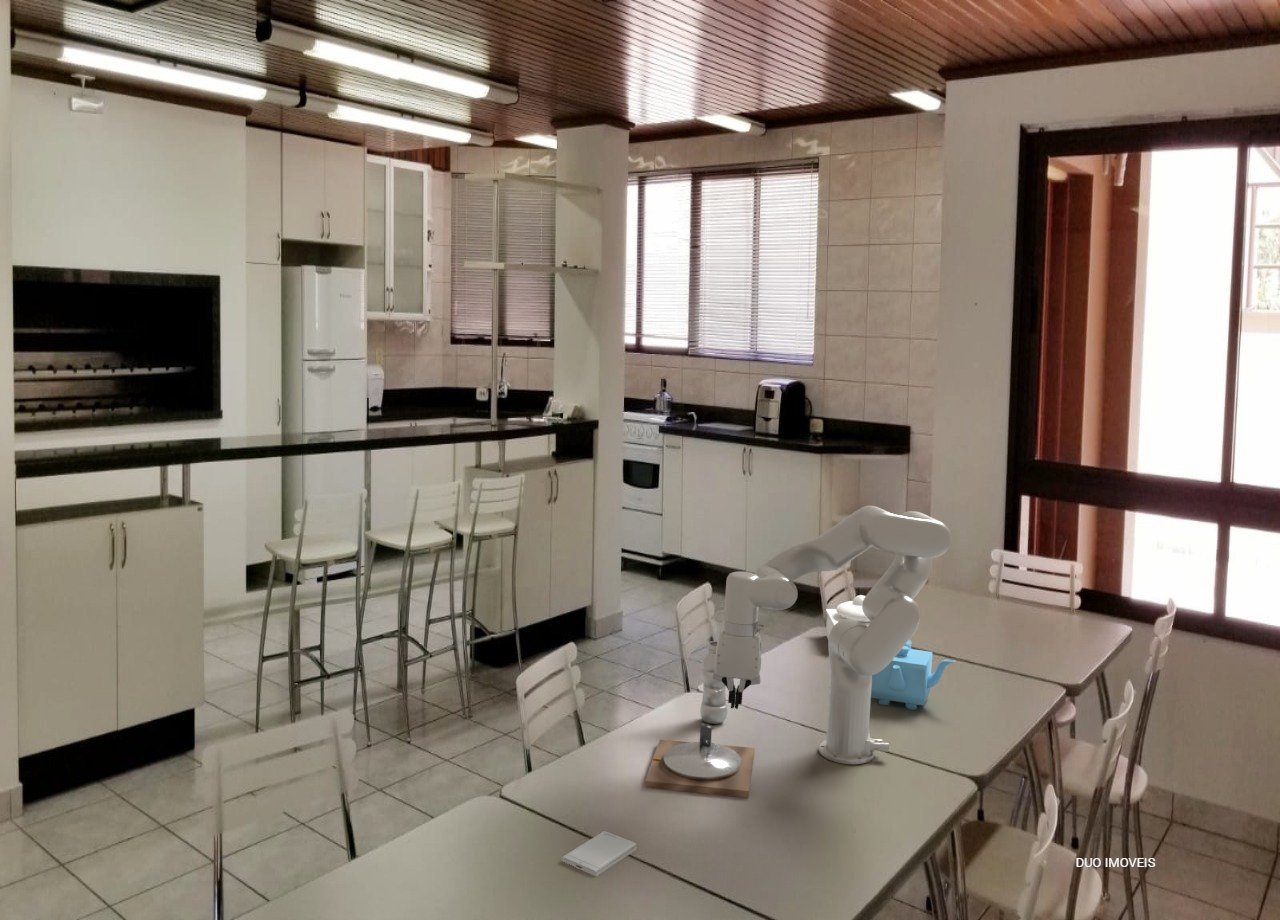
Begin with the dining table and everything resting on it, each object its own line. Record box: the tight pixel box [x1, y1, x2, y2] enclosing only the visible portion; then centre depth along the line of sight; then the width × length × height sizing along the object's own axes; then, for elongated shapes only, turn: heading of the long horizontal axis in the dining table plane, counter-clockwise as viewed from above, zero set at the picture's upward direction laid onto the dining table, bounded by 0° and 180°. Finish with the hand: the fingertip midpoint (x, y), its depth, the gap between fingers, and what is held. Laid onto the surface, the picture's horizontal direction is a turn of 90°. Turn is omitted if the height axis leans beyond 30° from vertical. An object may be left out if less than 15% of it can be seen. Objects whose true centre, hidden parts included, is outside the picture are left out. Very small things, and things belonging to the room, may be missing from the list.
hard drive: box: [561, 830, 638, 877], centre depth 195 cm, size 2×8×12 cm
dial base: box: [644, 739, 755, 799], centre depth 231 cm, size 22×22×2 cm
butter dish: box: [825, 594, 871, 641], centre depth 320 cm, size 18×18×16 cm
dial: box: [664, 723, 741, 780], centre depth 231 cm, size 17×17×6 cm
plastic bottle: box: [699, 641, 728, 725], centre depth 257 cm, size 6×7×20 cm
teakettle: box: [871, 639, 957, 711], centre depth 275 cm, size 19×19×15 cm
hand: (734, 706), depth 235 cm, fingers closed
